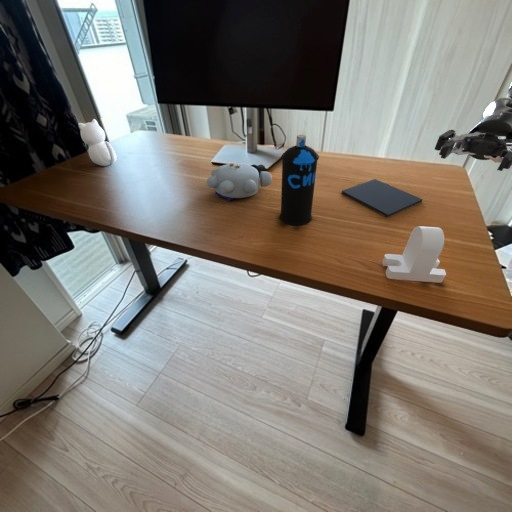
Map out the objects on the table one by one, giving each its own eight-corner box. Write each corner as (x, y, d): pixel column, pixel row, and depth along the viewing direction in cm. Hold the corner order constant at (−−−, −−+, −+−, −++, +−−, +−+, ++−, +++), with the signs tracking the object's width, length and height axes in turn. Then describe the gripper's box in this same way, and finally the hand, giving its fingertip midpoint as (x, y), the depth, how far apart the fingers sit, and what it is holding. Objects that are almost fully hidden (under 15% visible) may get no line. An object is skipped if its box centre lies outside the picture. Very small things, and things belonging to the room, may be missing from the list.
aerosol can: (275, 212, 72) (276, 133, 59) (303, 206, 73) (310, 128, 60) (287, 228, 66) (291, 144, 53) (317, 222, 67) (328, 139, 54)
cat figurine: (106, 157, 109) (90, 116, 99) (128, 161, 104) (113, 119, 94) (86, 165, 103) (67, 122, 93) (108, 170, 98) (91, 126, 88)
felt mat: (421, 201, 73) (422, 199, 73) (387, 217, 68) (388, 214, 67) (374, 181, 84) (374, 178, 83) (341, 193, 79) (341, 190, 78)
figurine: (237, 210, 72) (282, 191, 84) (236, 179, 67) (285, 163, 79) (196, 192, 81) (243, 177, 93) (194, 163, 76) (243, 151, 88)
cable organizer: (442, 282, 50) (468, 240, 44) (387, 278, 52) (403, 236, 45) (433, 264, 54) (455, 222, 48) (381, 260, 56) (396, 219, 49)
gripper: (462, 109, 56) (435, 127, 47) (552, 120, 48) (541, 144, 39) (446, 146, 61) (420, 169, 52) (526, 161, 53) (511, 191, 44)
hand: (472, 158), depth 46 cm, fingers open, 8 cm apart
